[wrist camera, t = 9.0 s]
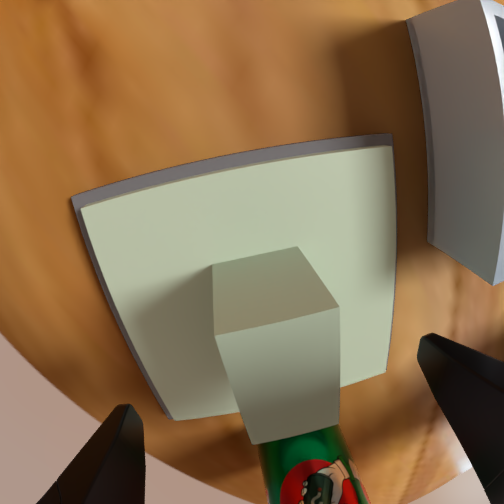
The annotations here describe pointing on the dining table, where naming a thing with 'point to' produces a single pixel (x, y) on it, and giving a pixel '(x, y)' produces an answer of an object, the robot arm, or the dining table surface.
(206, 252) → the lid
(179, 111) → the dining table surface
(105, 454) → the robot arm
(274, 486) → the soda can
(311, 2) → the dining table surface
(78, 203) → the mat
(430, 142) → the grey open box
